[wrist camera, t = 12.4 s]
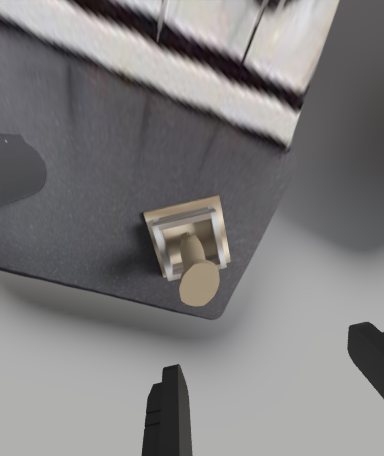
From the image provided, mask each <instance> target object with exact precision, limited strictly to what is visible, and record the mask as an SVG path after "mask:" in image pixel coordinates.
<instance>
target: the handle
mask: <svg viewBox="0 0 384 456" xmlns="http://www.w3.org/2000/svg"><path fill="white" fill-rule="evenodd" d="M180 253H181V259H182V263H183V267H184V270H183V272H182V274H181V277H180V281H179V290H180V296H181V300H182V301H183V302H184V303H185V304H188V305H191V306H203V305H205V304H206V303H207V302H209V301H210V300H211V299H212V298H213V296H214V295H215V293H216V291H217V289H218V286H219V280H220V279H219V271H218V268H217V266H216V265H215V264H214V263H213V262H211V261H208V260H206V259H205V254H204V250H203V247H202V244H201V242H200V241H199V239H198V238H197V236H196V235H195V234H191V233H189V232H187V233H186V235H185V236H183V237H182V238H181V245H180Z"/></svg>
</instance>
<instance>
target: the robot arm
mask: <svg viewBox="0 0 384 456" xmlns="http://www.w3.org/2000/svg"><path fill="white" fill-rule="evenodd" d="M45 179H46V170H45V166H44V163H43V161H42V159H41V158H40V156H39V155H38V153H37V152H36V151H35V150H34V149H33V148H31V147H30V146H29V145H27V144H26V143H25V142H24V141H23V139H22V137H21V136H20V135H11V134H0V206H1V205H4V204H7V203H10V202H13V201H16V200H19V199H22V198H25V197H28V196H30V195H33V194H35V193H37V192H38V191H39V190H40V189H41V188H42V187H43V185H44V183H45ZM348 353H349V355H350V357H351V359H352V361H353V362H354V364H355V365H356V366H357V367H358V368H359V370H360V371H361V372H362V373H363V374H364V376H365V377H366V378H367V379H368V380H369V382H370V383H371V384H372V385H373V386H374V388H375V389H376V390H377V391H378V392H379V394H380V395H381V396H382V397H383V398H384V332H383V333H382V332H380V331H379V330H378V329H377V328H376V327H375V326H374V325H373V324H371V323H369V322H363V323H359V324H354V325H350V326H349V332H348ZM162 374H163V375H162V382H161V383H157V384H154V385H153V387H152V389H151V392H150V394H149V396H148V399H147V409H146V419H145V429H144V438H143V448H142V456H192V441H191V426H190V408H189V396H188V390H187V385H186V382H185V379H184V376H183V373H182V370H181V367H180V365H179V364H177V365H173V366H168V367H164V368H163V373H162Z"/></svg>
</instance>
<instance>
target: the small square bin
mask: <svg viewBox="0 0 384 456" xmlns="http://www.w3.org/2000/svg"><path fill="white" fill-rule="evenodd" d="M143 214H144V217H145V220H146V223H147V226H148V229H149V233H150V236H151V239H152V242H153V245H154V248H155V252H156V255H157V258H158V261H159V264H160V267H161V271H162V274H163V277H167V278H168V281H171V280H176V279H180V277H181V274H182V272H183V270H184V267H183V263H182V259H181V253H180V245H181V238H182V237H183V236H185V235H186V233H187V232H189V233H191V234H195V235H196V236H197V238H198V239H199V241H200V242H201V244H202V247H203V250H204V254H205V259H206V260H208V261H211V262H213V263H214V264H215V265H216V266H217V268H218V270H219V269H223V268H227V266H226V263H228V262H231V261H230V255H229V249H228V244H227V238H226V232H225V227H224V221H223V215H222V210H221V204H220V198H219V195H214V196H209V197H205V198H201V199H197V200H192V201H188V202H184V203H179V204H175V205H171V206H167V207H162V208H158V209H154V210H150V211H145V212H144V213H143Z"/></svg>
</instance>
